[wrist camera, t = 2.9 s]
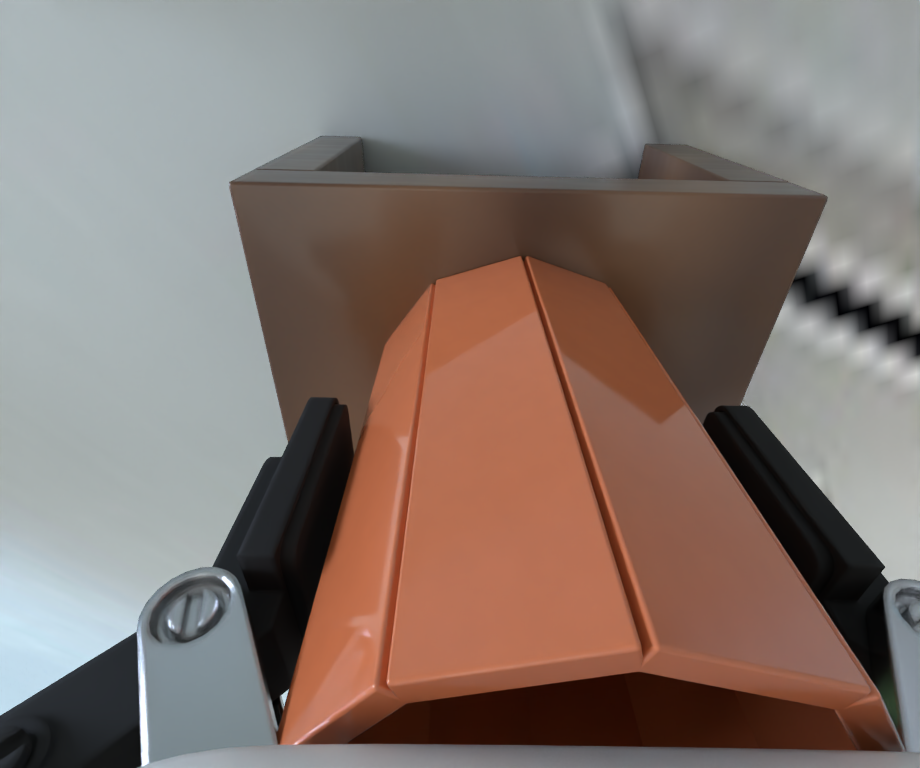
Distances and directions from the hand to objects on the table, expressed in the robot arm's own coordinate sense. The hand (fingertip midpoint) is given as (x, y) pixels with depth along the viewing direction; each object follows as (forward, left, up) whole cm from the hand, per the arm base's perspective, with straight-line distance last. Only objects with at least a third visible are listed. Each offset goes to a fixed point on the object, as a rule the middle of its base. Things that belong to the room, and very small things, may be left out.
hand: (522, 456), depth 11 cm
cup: (0, 0, -3) cm, 3 cm away
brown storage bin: (0, 0, -11) cm, 11 cm away
